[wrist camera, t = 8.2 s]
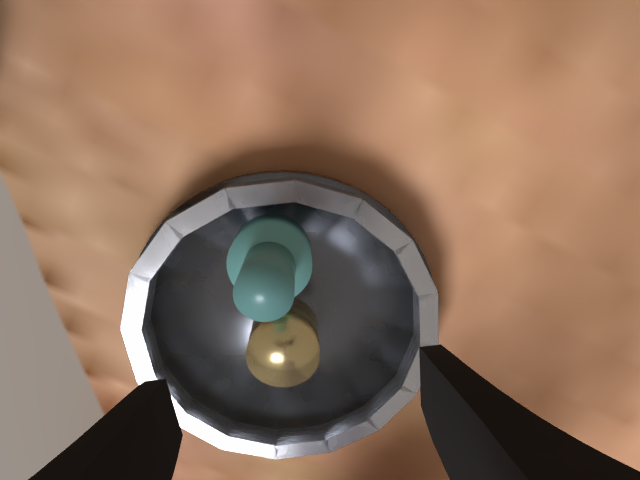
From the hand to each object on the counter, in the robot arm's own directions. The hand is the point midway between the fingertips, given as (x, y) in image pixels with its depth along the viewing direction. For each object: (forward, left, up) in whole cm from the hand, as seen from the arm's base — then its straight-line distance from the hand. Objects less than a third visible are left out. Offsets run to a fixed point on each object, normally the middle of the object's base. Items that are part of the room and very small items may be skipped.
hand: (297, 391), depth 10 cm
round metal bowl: (-4, +1, -10) cm, 11 cm away
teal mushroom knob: (+1, +1, -10) cm, 10 cm away
